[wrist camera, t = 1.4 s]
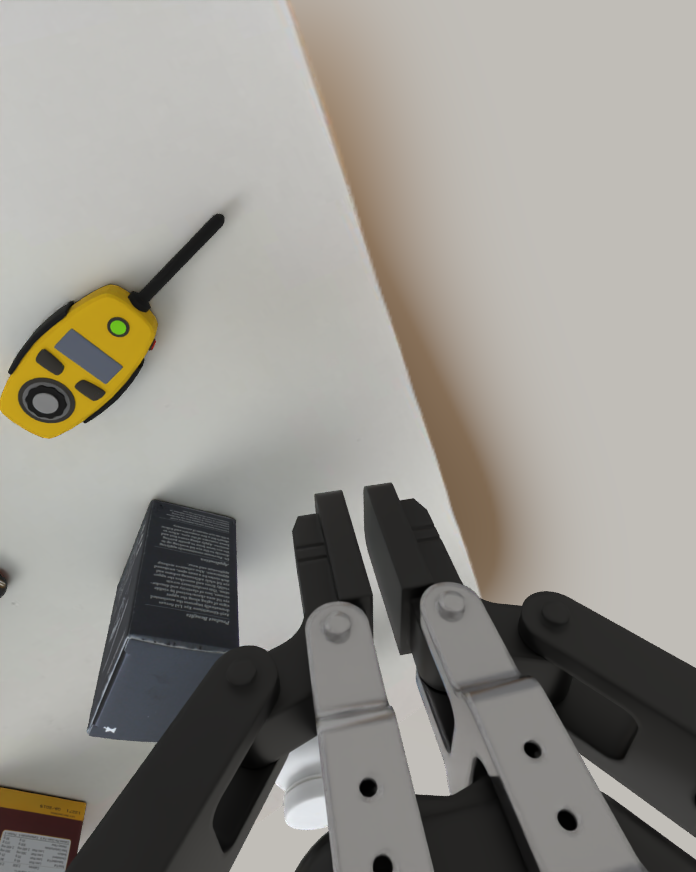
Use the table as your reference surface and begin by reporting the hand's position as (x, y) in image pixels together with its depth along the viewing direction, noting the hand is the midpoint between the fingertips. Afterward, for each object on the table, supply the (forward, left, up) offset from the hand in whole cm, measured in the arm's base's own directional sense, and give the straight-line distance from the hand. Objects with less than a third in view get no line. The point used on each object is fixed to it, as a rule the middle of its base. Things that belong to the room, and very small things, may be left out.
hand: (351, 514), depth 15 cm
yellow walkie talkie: (0, -8, -17) cm, 19 cm away
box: (+16, -9, -17) cm, 25 cm away
